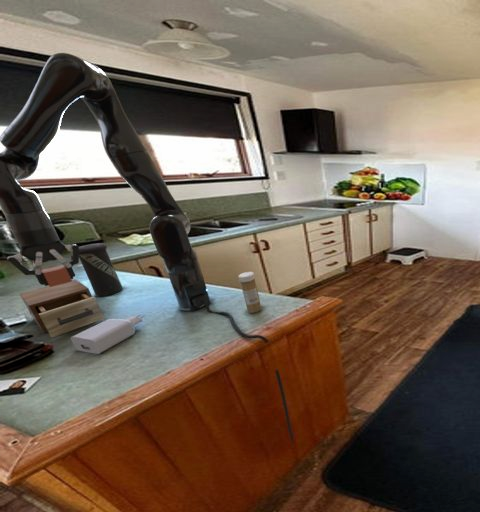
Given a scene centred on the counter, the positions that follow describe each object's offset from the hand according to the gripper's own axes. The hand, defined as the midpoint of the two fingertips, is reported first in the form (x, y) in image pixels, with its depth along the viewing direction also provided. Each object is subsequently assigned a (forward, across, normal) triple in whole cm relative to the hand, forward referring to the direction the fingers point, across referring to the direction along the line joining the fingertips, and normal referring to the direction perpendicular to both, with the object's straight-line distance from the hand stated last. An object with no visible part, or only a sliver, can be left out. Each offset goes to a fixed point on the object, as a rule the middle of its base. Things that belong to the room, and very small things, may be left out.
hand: (59, 281), depth 83 cm
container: (+15, +13, +23) cm, 31 cm away
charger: (+15, +4, -20) cm, 26 cm away
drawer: (+14, -1, 0) cm, 14 cm away
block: (0, 0, 0) cm, 0 cm away
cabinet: (+15, -1, +11) cm, 19 cm away
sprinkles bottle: (+15, +34, -44) cm, 57 cm away
